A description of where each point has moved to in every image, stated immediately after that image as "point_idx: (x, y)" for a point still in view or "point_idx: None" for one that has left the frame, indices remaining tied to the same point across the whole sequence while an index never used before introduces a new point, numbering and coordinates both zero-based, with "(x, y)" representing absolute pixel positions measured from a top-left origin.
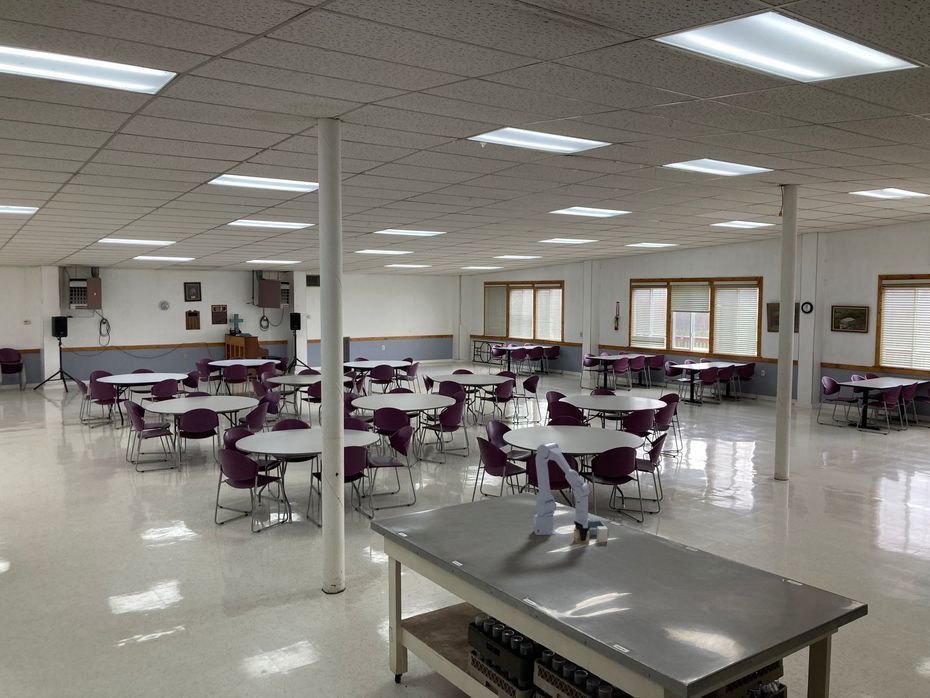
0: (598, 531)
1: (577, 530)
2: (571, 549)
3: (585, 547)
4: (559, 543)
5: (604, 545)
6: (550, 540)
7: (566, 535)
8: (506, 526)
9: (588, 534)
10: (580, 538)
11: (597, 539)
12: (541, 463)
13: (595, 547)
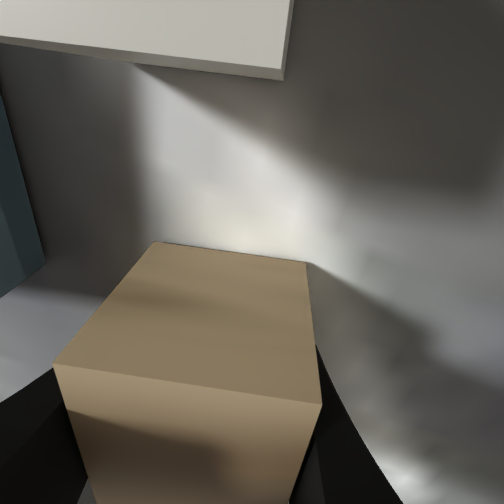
0: (178, 61)
1: (147, 498)
2: (405, 454)
3: (417, 345)
4: None
5: (488, 38)
6: None
7: (9, 367)
8: None
9: (311, 378)
10: None
11: (165, 66)
12: None
13: (486, 240)
